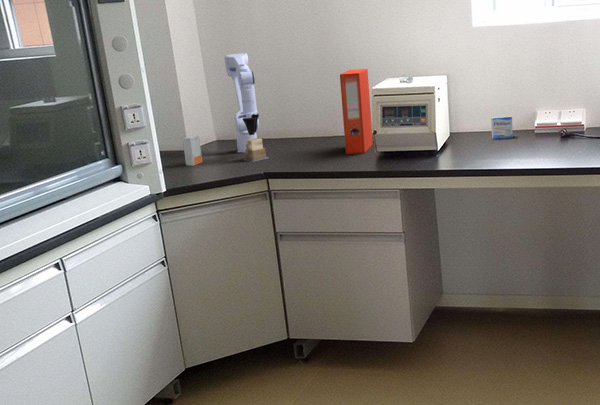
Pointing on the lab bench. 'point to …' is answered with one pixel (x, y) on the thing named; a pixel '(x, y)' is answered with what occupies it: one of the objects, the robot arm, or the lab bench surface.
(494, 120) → the medicine box
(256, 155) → the base block
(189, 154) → the skincare box
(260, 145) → the maple block
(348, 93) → the file binder
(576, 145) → the lab bench surface
